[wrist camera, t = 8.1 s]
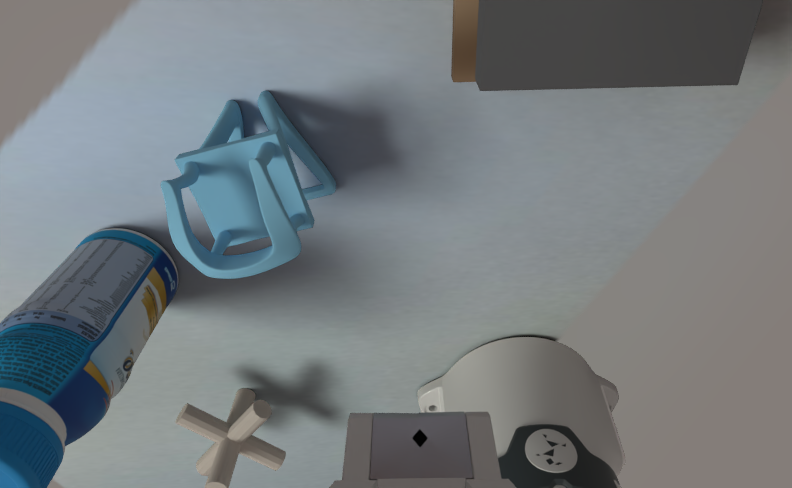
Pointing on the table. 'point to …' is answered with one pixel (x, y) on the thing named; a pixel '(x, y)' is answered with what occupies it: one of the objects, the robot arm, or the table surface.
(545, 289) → the table surface
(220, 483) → the pipe connector
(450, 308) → the table surface
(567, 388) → the robot arm
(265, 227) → the chair
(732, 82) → the collar
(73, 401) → the beverage bottle
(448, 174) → the table surface
